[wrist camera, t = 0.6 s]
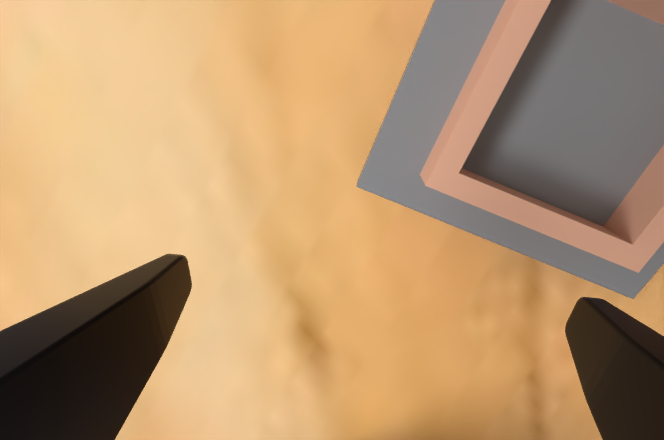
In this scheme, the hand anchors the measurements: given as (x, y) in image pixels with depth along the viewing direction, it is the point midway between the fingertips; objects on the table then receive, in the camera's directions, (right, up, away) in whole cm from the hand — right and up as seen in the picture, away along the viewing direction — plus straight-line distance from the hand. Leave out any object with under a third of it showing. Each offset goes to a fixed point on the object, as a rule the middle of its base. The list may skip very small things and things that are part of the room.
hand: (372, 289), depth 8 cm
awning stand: (+12, +7, +11) cm, 18 cm away
